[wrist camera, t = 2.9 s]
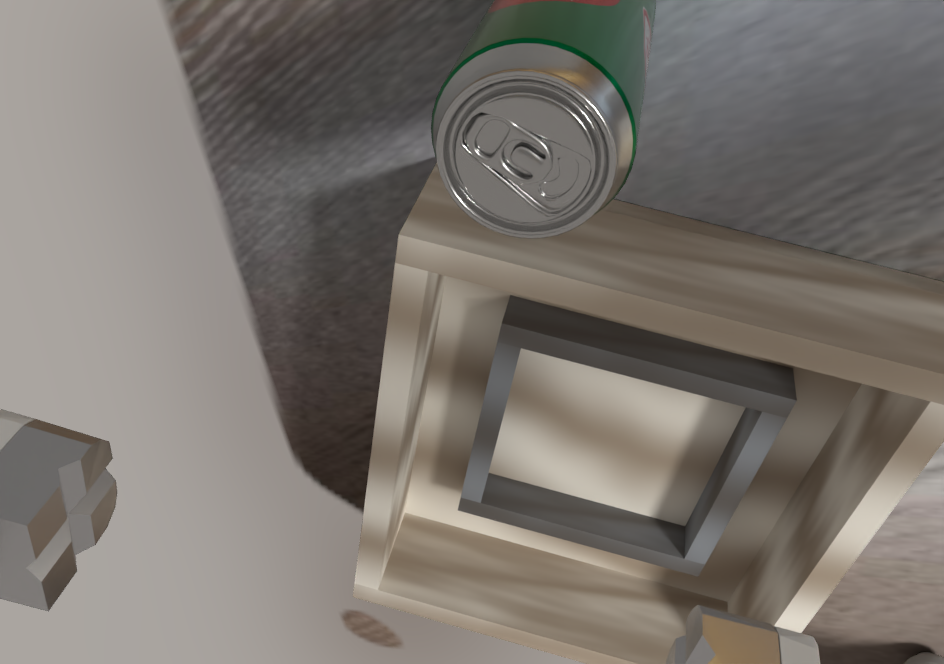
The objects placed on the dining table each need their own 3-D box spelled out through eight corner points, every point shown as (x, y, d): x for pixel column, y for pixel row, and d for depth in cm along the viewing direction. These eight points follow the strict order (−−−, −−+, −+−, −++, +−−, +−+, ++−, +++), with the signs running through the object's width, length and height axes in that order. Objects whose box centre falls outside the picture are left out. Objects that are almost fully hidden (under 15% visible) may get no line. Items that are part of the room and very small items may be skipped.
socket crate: (440, 156, 34) (398, 234, 30) (946, 282, 33) (985, 384, 28) (386, 506, 48) (352, 596, 44) (741, 604, 47) (745, 708, 42)
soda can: (600, 100, 32) (556, 286, 22) (481, 23, 31) (385, 183, 22) (688, -22, 28) (679, 136, 19) (558, -111, 28) (484, 9, 18)
